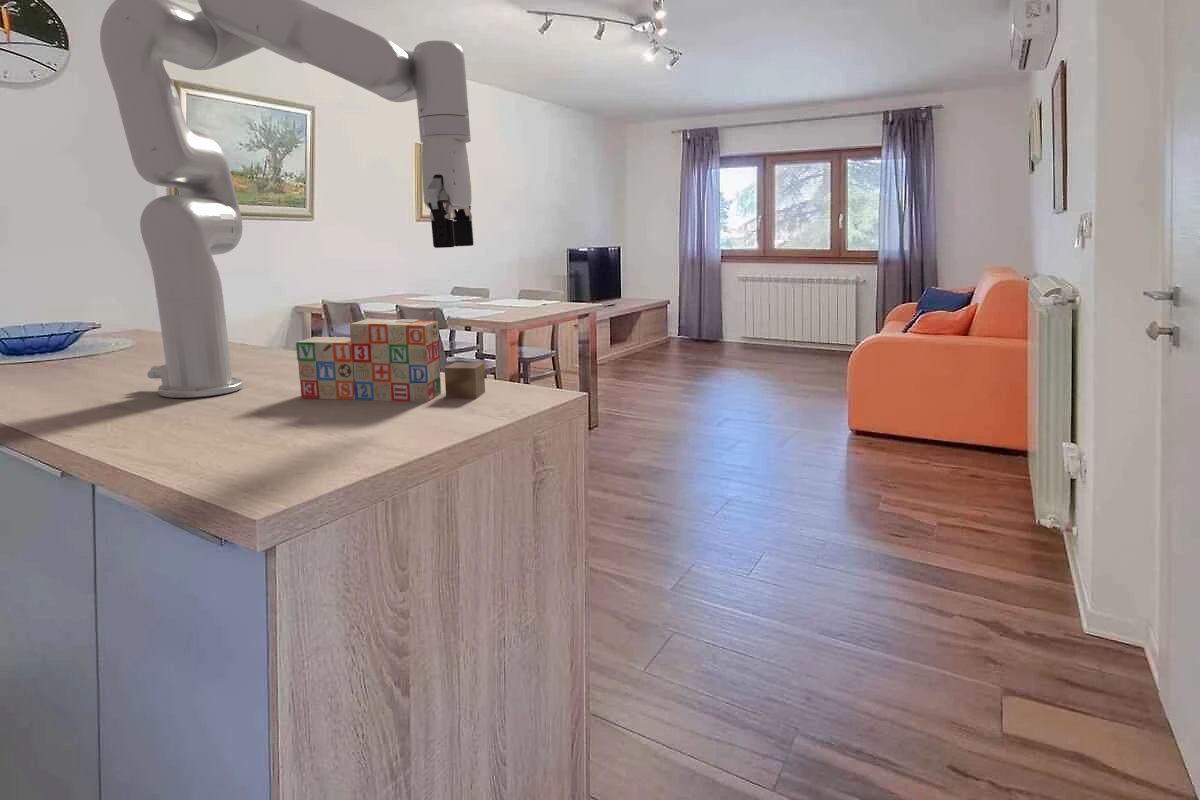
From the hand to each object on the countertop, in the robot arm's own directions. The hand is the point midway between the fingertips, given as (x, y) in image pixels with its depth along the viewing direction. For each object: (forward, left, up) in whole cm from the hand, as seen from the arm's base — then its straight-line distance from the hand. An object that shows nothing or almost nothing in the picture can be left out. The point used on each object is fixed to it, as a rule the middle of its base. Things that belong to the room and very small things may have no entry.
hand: (454, 246), depth 117 cm
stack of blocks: (-14, -3, -24) cm, 28 cm away
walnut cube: (+1, -1, -24) cm, 24 cm away
